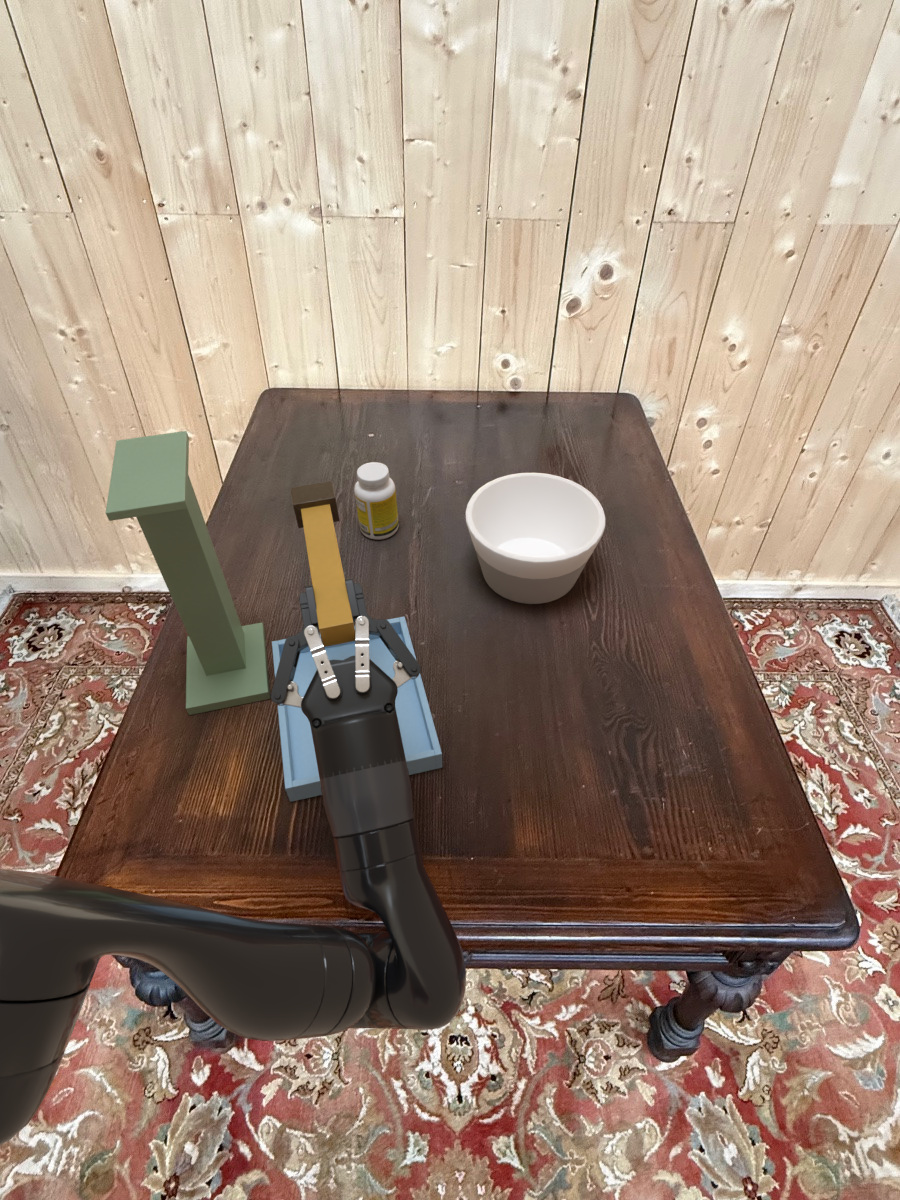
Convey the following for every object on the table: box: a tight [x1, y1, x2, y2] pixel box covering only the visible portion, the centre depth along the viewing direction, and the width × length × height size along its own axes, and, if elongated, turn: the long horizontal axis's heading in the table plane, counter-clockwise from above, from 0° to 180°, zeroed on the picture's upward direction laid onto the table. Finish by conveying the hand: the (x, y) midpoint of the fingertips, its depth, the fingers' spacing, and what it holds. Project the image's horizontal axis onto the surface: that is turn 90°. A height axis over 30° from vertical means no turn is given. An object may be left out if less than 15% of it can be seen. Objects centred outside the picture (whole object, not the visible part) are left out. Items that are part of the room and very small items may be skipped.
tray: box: [271, 616, 443, 803], centre depth 85 cm, size 18×22×3 cm
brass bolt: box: [289, 480, 355, 647], centre depth 67 cm, size 4×20×3 cm, turn 14°
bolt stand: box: [105, 430, 271, 716], centre depth 79 cm, size 10×12×32 cm
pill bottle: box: [353, 461, 400, 541], centre depth 106 cm, size 6×6×11 cm
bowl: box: [465, 472, 607, 605], centre depth 99 cm, size 19×19×11 cm
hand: (328, 584), depth 63 cm, fingers closed on brass bolt, 3 cm apart
